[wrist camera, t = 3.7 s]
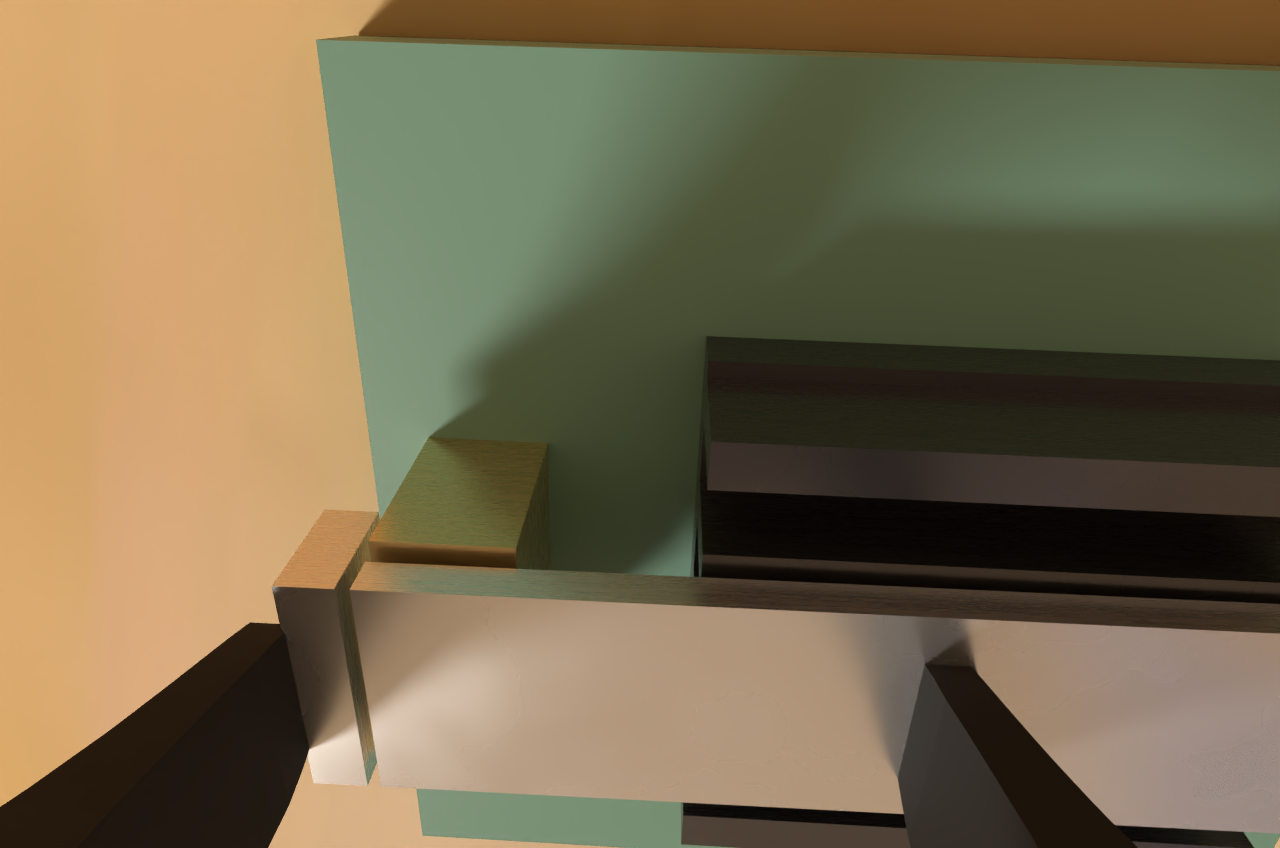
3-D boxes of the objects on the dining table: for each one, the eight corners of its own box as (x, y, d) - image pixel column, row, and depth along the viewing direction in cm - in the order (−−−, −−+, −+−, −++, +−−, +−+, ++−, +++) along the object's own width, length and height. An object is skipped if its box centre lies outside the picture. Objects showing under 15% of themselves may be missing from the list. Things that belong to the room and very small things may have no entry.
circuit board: (1587, 75, 12) (1697, 85, 11) (1213, 823, 19) (1252, 884, 18) (354, 35, 13) (316, 40, 11) (440, 779, 20) (422, 835, 18)
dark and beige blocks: (1457, 367, 13) (1819, 538, 9) (1263, 748, 16) (1454, 993, 12) (417, 323, 13) (299, 467, 9) (454, 703, 17) (381, 927, 13)
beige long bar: (1436, 560, 12) (1555, 647, 10) (1335, 742, 14) (1423, 840, 12) (324, 509, 12) (271, 586, 11) (355, 692, 14) (313, 783, 12)
